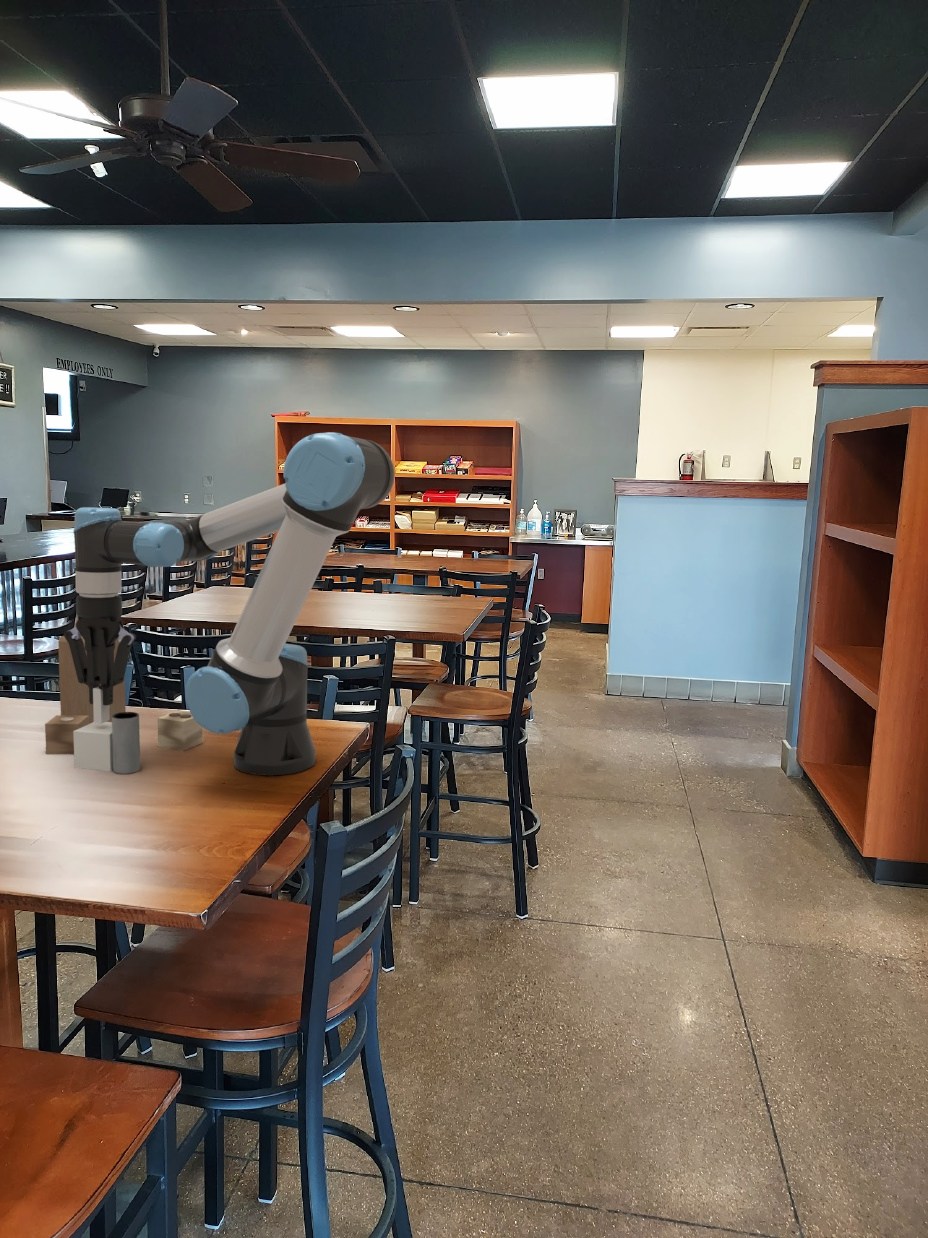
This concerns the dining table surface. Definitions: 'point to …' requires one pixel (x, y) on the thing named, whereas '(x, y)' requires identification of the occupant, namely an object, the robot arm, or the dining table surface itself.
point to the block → (82, 687)
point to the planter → (126, 742)
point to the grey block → (94, 747)
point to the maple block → (178, 731)
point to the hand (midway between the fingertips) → (101, 721)
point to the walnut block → (63, 733)
